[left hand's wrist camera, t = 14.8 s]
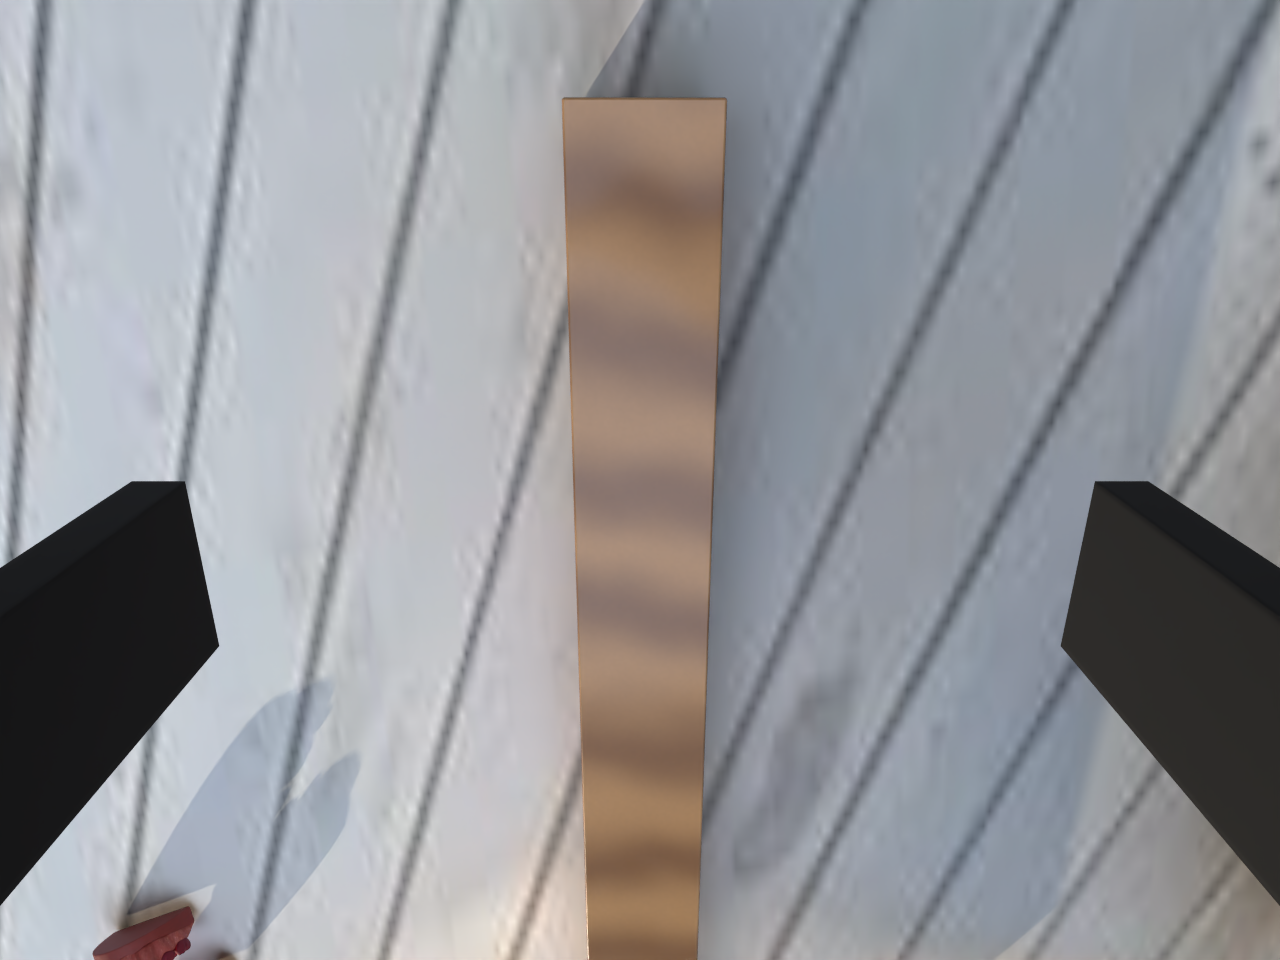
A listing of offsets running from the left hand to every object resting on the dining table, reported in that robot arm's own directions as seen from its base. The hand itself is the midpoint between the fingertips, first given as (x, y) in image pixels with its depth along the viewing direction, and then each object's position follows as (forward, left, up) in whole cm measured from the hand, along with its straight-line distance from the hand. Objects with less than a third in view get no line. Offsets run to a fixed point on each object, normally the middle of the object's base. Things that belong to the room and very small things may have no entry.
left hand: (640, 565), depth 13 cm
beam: (-16, +27, -28) cm, 42 cm away
